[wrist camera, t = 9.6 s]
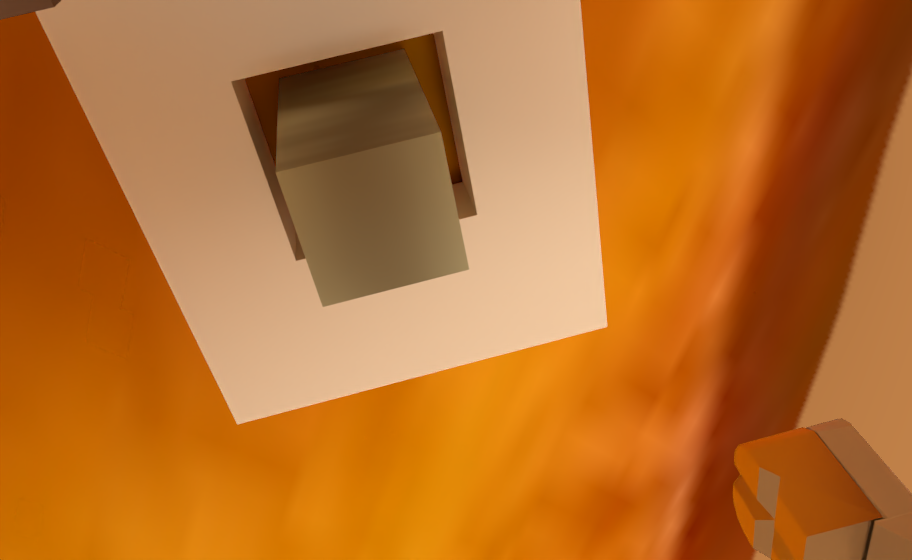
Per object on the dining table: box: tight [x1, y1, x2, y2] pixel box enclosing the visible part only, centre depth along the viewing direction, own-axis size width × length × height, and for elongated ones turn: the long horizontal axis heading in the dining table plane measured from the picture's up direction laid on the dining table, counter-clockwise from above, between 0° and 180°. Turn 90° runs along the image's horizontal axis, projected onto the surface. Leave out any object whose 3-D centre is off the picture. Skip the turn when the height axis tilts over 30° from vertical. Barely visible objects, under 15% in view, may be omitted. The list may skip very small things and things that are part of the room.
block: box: [275, 49, 469, 307], centre depth 22 cm, size 4×4×7 cm
